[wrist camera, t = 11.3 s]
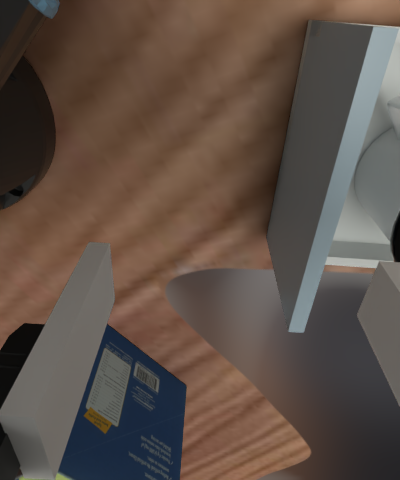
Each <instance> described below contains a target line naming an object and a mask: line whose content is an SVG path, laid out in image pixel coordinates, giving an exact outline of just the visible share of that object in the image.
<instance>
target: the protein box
mask: <svg viewBox="0 0 400 480" xmlns="http://www.w3.org/2000/svg"><path fill="white" fill-rule="evenodd" d="M186 389H187V386H186V385H185V384H183V383H182V382H181V381H180V380H178V379H177V378H176V377H174V376H173V375H172V374H170V373H169V372H168V371H167V370H165V369H164V368H163V367H161V366H160V365H159V364H158V363H156V362H155V361H154V360H153V359H151V358H150V357H149V356H147V355H146V354H145V353H144V352H142V351H141V350H140V349H138V348H137V347H136V346H135V345H133V344H132V343H131V342H129V341H128V340H127V339H126V338H124V337H123V336H122V335H120V334H119V333H118V332H117V331H115V330H114V329H113V328H111V327H110V326H109V325H108V324H107V325H106V328H105V331H104V334H103V337H102V340H101V343H100V346H99V349H98V352H97V355H96V358H95V361H94V364H93V367H92V370H91V373H90V376H89V379H88V382H87V385H86V388H85V391H84V394H83V397H82V400H81V403H80V406H79V409H78V412H77V415H76V418H75V421H74V424H73V427H72V430H71V433H70V436H69V439H68V442H67V445H66V448H65V451H64V454H63V457H62V460H61V463H60V466H59V469H58V472H57V475H56V478H55V480H180V469H181V456H182V442H183V428H184V415H185V402H186ZM15 480H45V479H29V478H24V476H23V474H22V472H21V469H20V468H19V471H18V473H17V476H16V478H15Z"/></svg>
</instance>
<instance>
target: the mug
mask: <svg viewBox="0 0 400 480" xmlns="http://www.w3.org/2000/svg"><path fill="white" fill-rule="evenodd" d="M387 110H388V113H389V116H390V119H391V122H392V126H393V127H392V128H391V129H389V130H388V131H386V132H385V133H383V134H382V135H381V136H379V137H378V138H377V139H376V140H375V141H374V142H373V143H372V144H371V145H370V147H369V148H368V149H367V150H366V152H365V153H364V155H363V157H362V158H361V160H360V162H359V165H358V168H357V170H356V175H355V192H356V195H357V197H358V200H359V201H360V203H361V204H362V206H363V207H364V209H365V210H366V211H367V213H368V214H369V215H370V217H371V218H372V219H373V220H374V222H375V223H376V224H377V226H378V227H379V228H380V230H381V231H382V232H383V234H384V235H385V236H386V238H387V239H388V240H389V241H390V249H391V254H392V257H393V261H394V262H400V95H399V96H396V97H395V98H393V99H391V100H390V101H388V102H387Z"/></svg>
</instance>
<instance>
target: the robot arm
mask: <svg viewBox="0 0 400 480" xmlns="http://www.w3.org/2000/svg"><path fill="white" fill-rule="evenodd" d="M59 5H60V3H59V0H0V210H2V209H5V208H7V207H10V206H12V205H13V204H15V203H17V202H18V201H20V200H21V199H23V198H24V197H25V196H26V195H27V194H28V193H29V192H30V191H31V190H32V189H33V188H34V187H35V186H36V185H37V184H38V183H39V182H40V181H41V180H42V179H43V177H44V176H45V174H46V173H47V171H48V169H49V167H50V164H51V161H52V158H53V154H54V149H55V125H54V119H53V114H52V110H51V106H50V103H49V100H48V98H47V95H46V93H45V91H44V89H43V86H42V84H41V82H40V81H39V79H38V77H37V75H36V74H35V72H34V71H33V69H32V67H31V66H30V65H29V63H28V62H27V60H26V59H25V58H24V57H23V56H22V55H23V54H24V52H25V51H26V49H27V47H28V46H29V44H30V43H31V41H32V40H33V38H34V36H35V35H36V33H37V32H38V30H39V29H40V27H41V25H42V24H43V22H44V21H45V19H46V18H47V17H48V18H51V19H52V18H53V17H54V16H55V14H56V13H57V11H58V8H59ZM114 301H115V294H114V283H113V272H112V261H111V251H110V243H97V242H89V243H88V245H87V246H86V248H85V250H84V252H83V254H82V256H81V258H80V260H79V262H78V263H77V265H76V267H75V269H74V271H73V273H72V275H71V277H70V279H69V280H68V282H67V284H66V286H65V288H64V290H63V292H62V294H61V296H60V298H59V299H58V301H57V303H56V305H55V307H54V309H53V311H52V313H51V315H50V316H49V318H48V320H47V322H46V324H45V325H44V324H28V323H24V324H23V325H22V326H20V327H19V328H18V329H17V330H16V331H15V332H13V333H12V334H11V335H10V336H9V337H8V339H7V340H6V342H5V343H4V345H3V347H2V348H1V350H0V480H15V478H16V476H17V473H18V471H19V468H20V469H21V472H22V474H23V476H24V478H29V479H45V480H55V478H56V475H57V472H58V469H59V466H60V463H61V460H62V457H63V454H64V451H65V448H66V445H67V442H68V439H69V436H70V433H71V430H72V427H73V424H74V421H75V418H76V415H77V412H78V409H79V406H80V403H81V400H82V397H83V394H84V391H85V388H86V385H87V382H88V379H89V376H90V373H91V370H92V367H93V364H94V361H95V358H96V355H97V352H98V349H99V346H100V343H101V340H102V337H103V334H104V331H105V328H106V325H107V322H108V319H109V316H110V313H111V310H112V307H113V304H114ZM357 317H358V319H359V321H360V323H361V325H362V327H363V329H364V332H365V334H366V336H367V338H368V340H369V342H370V345H371V347H372V349H373V351H374V353H375V355H376V357H377V359H378V362H379V364H380V366H381V367H382V370H383V372H384V374H385V376H386V379H387V380H388V383H389V384H390V387H391V389H392V391H393V393H394V395H395V398H396V400H397V402H398V404H399V406H400V262H385V261H379V263H378V265H377V268H376V270H375V273H374V275H373V278H372V280H371V283H370V285H369V288H368V290H367V292H366V295H365V297H364V299H363V302H362V304H361V307H360V309H359V312H358V314H357Z"/></svg>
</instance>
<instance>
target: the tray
mask: <svg viewBox="0 0 400 480" xmlns="http://www.w3.org/2000/svg"><path fill="white" fill-rule="evenodd" d="M399 95H400V27H397V26H384V25H371V24H358V23H345V22H332V21H319V20H309V21H308V26H307V31H306V37H305V42H304V47H303V52H302V57H301V62H300V67H299V72H298V78H297V83H296V88H295V93H294V98H293V103H292V108H291V114H290V119H289V124H288V129H287V134H286V139H285V144H284V150H283V155H282V160H281V165H280V170H279V175H278V180H277V185H276V191H275V196H274V201H273V206H272V211H271V216H270V221H269V227H268V232H267V237H266V238H267V242H268V247H269V251H270V255H271V260H272V264H273V268H274V272H275V277H276V281H277V286H278V290H279V294H280V299H281V303H282V307H283V312H284V316H285V320H286V324H287V329H288V332H301V333H303V332H304V330H305V326H306V323H307V320H308V317H309V313H310V310H311V307H312V304H313V301H314V297H315V295H316V291H317V288H318V285H319V282H320V279H321V275H322V272H323V269H324V266H325V265H339V266H353V267H367V268H377V265H378V263H379V261H385V262H394V261H393V257H392V254H391V249H390V241H389V240H388V239H387V238H386V236H385V235H384V234H383V232H382V231H381V230H380V228H379V227H378V226H377V224H376V223H375V222H374V220H373V219H372V218H371V217H370V215H369V214H368V213H367V211H366V210H365V209H364V207H363V206H362V204H361V203H360V201H359V200H358V197H357V195H356V192H355V175H356V170H357V168H358V165H359V162H360V160H361V158H362V157H363V155H364V153H365V152H366V150H367V149H368V148H369V147H370V145H371V144H372V143H373V142H374V141H375V140H376V139H377V138H378V137H379V136H381V135H382V134H383V133H385V132H386V131H388V130H389V129H391V128H392V127H393V126H392V122H391V119H390V116H389V113H388V110H387V102H388V101H390V100H391V99H393V98H395V97H396V96H399Z"/></svg>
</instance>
